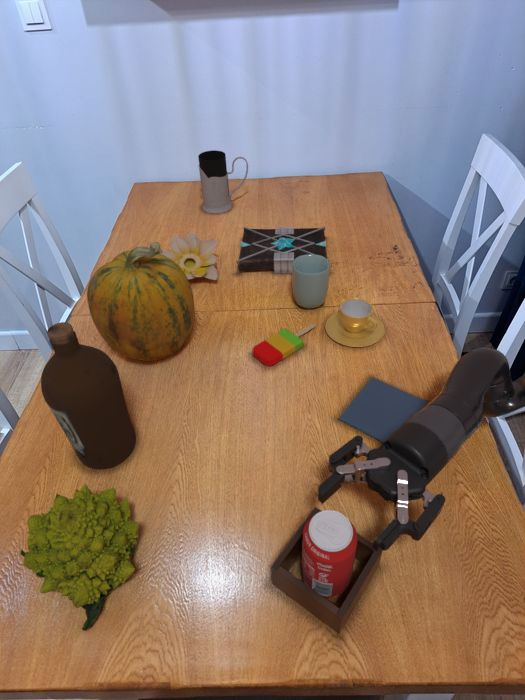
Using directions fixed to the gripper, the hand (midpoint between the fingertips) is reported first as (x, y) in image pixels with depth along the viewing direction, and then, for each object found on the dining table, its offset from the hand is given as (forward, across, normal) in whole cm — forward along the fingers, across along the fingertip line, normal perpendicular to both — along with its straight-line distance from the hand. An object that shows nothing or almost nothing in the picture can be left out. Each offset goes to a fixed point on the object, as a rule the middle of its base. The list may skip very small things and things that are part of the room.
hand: (346, 521), depth 58 cm
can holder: (+3, 0, -10) cm, 10 cm away
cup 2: (-39, +29, -10) cm, 50 cm away
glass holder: (-56, +92, -10) cm, 109 cm away
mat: (-25, +10, -10) cm, 29 cm away
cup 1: (-39, +42, -10) cm, 58 cm away
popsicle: (-26, +36, -10) cm, 45 cm away
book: (-49, +60, -10) cm, 78 cm away
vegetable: (+24, +23, -10) cm, 34 cm away
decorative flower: (-26, +70, -10) cm, 75 cm away
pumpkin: (-6, +55, -10) cm, 56 cm away
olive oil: (+13, +39, -10) cm, 42 cm away
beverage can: (+3, 0, -10) cm, 11 cm away
